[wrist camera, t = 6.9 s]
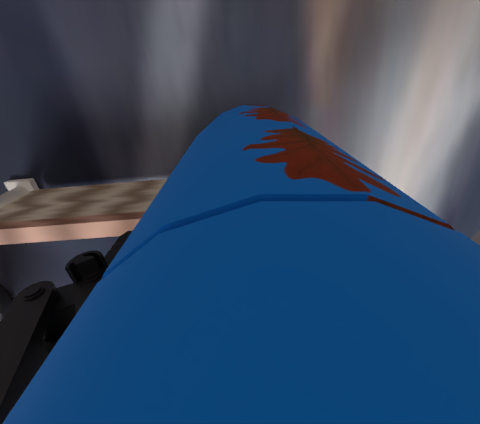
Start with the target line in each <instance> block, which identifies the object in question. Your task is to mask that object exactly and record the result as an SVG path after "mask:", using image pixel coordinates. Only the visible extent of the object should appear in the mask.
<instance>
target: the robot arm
mask: <svg viewBox="0 0 480 424" xmlns="http://www.w3.org/2000/svg"><path fill="white" fill-rule="evenodd" d="M131 232H132V231H127V232H125V233H124V234H123V235H121V236H120V237H119V238H118V239H117V241H116V242H115V244H114V245H113V246H112V248H111V250H109V252H108V253H107V254H106V256H105V257H103V255H102V253H101V252H99V251H88V252H85V253H82V254H80V255H78V256H76V257H74V258H73V259H71V260H70V261H69V262H68V263H67V265H66V267H65V269H66V271H67V273H68V274H69V276H70V278H71V279H72V281H73V284H69V285H66V286H62V287H59V288H56V287H55V285H54V284H53V283H52V282H51V281H42V282H38V283H35V284H33V285H30V286H28V287H27V288H25V289H24V290H23V291H21V292H20V293H19V294H18V295H17V296H16V297H15V298H14V300H13V301H12V300H11V297H10V296H9V294H8V293H7V292H6V290H5V289H4V288H2V287H1V286H0V320H1V321H0V424H2V423H3V422H4V420H5V419H6V417H7V416H8V414H9V413H10V411H11V410H12V408H13V407H14V406H15V404H16V403H17V401H18V400H19V398H20V397H21V395H22V394H23V392H24V391H25V389H26V388H27V386H28V385H29V383H30V382H31V380H32V379H33V377H34V376H35V374H36V373H37V372H38V370H39V369H40V367H41V366H42V364H43V363H44V361H45V360H46V358H47V357H48V355H49V354H50V352H51V351H52V349H53V348H54V346H55V345H56V343H57V342H58V340H59V339H60V337H61V336H62V335H63V333H64V332H65V330H66V329H67V327H68V326H69V324H70V323H71V321H72V320H73V318H74V317H75V315H76V314H77V312H78V311H79V309H80V308H81V306H82V305H83V303H84V302H85V301H86V299H87V298H88V296H89V295H90V293H91V292H92V290H93V289H94V287H95V286H96V284H97V283H98V282H99V281H100V280H101V279H102V277H103V274H104V272H105V271H106V269H107V268H108V266H109V265H110V264H111V262H112V261H113V259H114V258H115V256H116V255H117V253H118V252H119V250H120V249H121V247H122V246H123V244H124V243H125V241H126V240H127V238H128V237H129V235H130V234H131Z"/></svg>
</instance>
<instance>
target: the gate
mask: <svg viewBox="0 0 480 424" xmlns="http://www.w3.org/2000/svg"><path fill="white" fill-rule="evenodd" d="M166 181H167V179H161V180H149V181H136V182H124V183H112V184H100V185H88V186H75V187H63V188H51V189H39V190H33V191H31V192H29V193H27V194H26V195H24V196H22V197H20V198H18V199H17V200H15V201H13V202H11V203H10V204H8V205H6V206H4V207H2V208H1V209H0V245H6V244H19V243H32V242H46V241H59V240H72V239H86V238H99V237H112V236H121V235H123V234H124V233H125V232H127V231H133V229H134V228H135V227H136V225H137V224H138V222H139V221H140V219H141V218H142V216H143V215H144V213H145V212H146V210H147V209H148V207H149V206H150V204H151V203H152V201H153V200H154V198H155V197H156V195H157V194H158V193H159V191H160V190H161V188H162V187H163V185H164V184H165V182H166Z"/></svg>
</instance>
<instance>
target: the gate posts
mask: <svg viewBox="0 0 480 424" xmlns="http://www.w3.org/2000/svg"><path fill="white" fill-rule="evenodd" d="M4 184H5V186H6V187H7V189H8V192H6V193H4V194H2V195H0V209H1V208H2V207H4V206H6V205H8V204H10V203H11V202H13V201H15V200H17V199H18V198H20V197H22V196H24V195H26V194H27V193H29V192H31V191H33V190H39V188H38V186H37V184H36V182H35V180H34V179H33V178H29V179H17V180H8V181H6V182H4Z"/></svg>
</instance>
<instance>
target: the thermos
mask: <svg viewBox="0 0 480 424" xmlns="http://www.w3.org/2000/svg"><path fill="white" fill-rule="evenodd" d="M2 424H480V246H479V245H478V244H477V243H475V242H474V241H472V240H471V239H469V238H468V237H467V236H465V235H464V234H462V233H460V232H457V231H455V230H454V229H453V228H452V227H451V226H450V225H449V224H448V223H446V222H445V221H444V220H442V219H441V218H439V217H438V216H436V215H435V214H434V213H432V212H431V211H429V210H428V209H426V208H425V207H424V206H422V205H421V204H419V203H418V202H416V201H415V200H413V199H412V198H411V197H409V196H408V195H406V194H405V193H403V192H402V191H401V190H399V189H398V188H396V187H395V186H393V185H392V184H391V183H389V182H388V181H386V180H385V179H383V178H382V177H381V176H379V175H378V174H376V173H375V172H373V171H372V170H370V169H369V168H368V167H366V166H365V165H363V164H362V163H360V162H359V161H358V160H356V159H355V158H353V157H352V156H350V155H349V154H348V153H346V152H345V151H343V150H342V149H340V148H339V147H338V146H336V145H335V144H333V143H332V142H330V141H329V140H327V139H326V138H325V137H323V136H322V135H320V134H319V133H317V132H316V131H315V130H313V129H312V128H310V127H309V126H307V125H306V124H305V123H303V122H302V121H300V120H299V119H297V118H295V117H293V116H290V115H288V114H285V113H283V112H281V111H278V110H276V109H273V108H271V107H268V106H266V105H241V106H238V107H236V108H233V109H231V110H228V111H226V112H223V113H221V114H220V115H219V116H218V117H217V118H216V119H215V120H213V121H212V122H211V123H210V124H209V125H208V126H207V127H206V128H205V129H204V130H203V131H202V132H201V133H200V134H198V135H197V136H196V138H195V139H194V141H193V142H192V144H191V145H190V147H189V148H188V150H187V151H186V153H185V154H184V156H183V157H182V158H181V160H180V161H179V163H178V164H177V166H176V167H175V169H174V170H173V172H172V173H171V175H170V176H169V178H168V179H167V181H166V182H165V184H164V185H163V187H162V188H161V190H160V191H159V193H158V194H157V195H156V197H155V198H154V200H153V201H152V203H151V204H150V206H149V207H148V209H147V210H146V212H145V213H144V215H143V216H142V218H141V219H140V221H139V222H138V224H137V225H136V227H135V228H134V229H133V231H132V232H131V234H130V235H129V237H128V238H127V240H126V241H125V243H124V244H123V246H122V247H121V249H120V250H119V252H118V253H117V255H116V256H115V258H114V259H113V261H112V262H111V264H110V265H109V266H108V268H107V269H106V271H105V272H104V274H103V277H102V279H101V280H100V281H99V282H98V283H97V284H96V286H95V287H94V289H93V290H92V292H91V293H90V295H89V296H88V298H87V299H86V301H85V302H84V303H83V305H82V306H81V308H80V309H79V311H78V312H77V314H76V315H75V317H74V318H73V320H72V321H71V323H70V324H69V326H68V327H67V329H66V330H65V332H64V333H63V335H62V336H61V337H60V339H59V340H58V342H57V343H56V345H55V346H54V348H53V349H52V351H51V352H50V354H49V355H48V357H47V358H46V360H45V361H44V363H43V364H42V366H41V367H40V369H39V370H38V372H37V373H36V374H35V376H34V377H33V379H32V380H31V382H30V383H29V385H28V386H27V388H26V389H25V391H24V392H23V394H22V395H21V397H20V398H19V400H18V401H17V403H16V404H15V406H14V407H13V408H12V410H11V411H10V413H9V414H8V416H7V417H6V419H5V420H4V422H3V423H2Z"/></svg>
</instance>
